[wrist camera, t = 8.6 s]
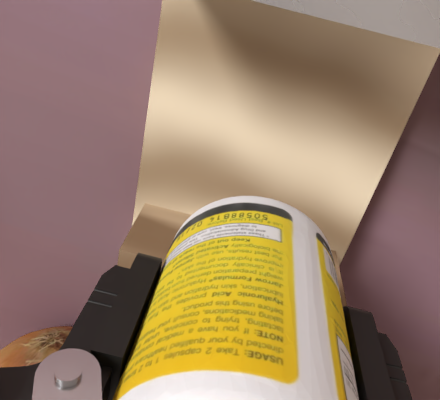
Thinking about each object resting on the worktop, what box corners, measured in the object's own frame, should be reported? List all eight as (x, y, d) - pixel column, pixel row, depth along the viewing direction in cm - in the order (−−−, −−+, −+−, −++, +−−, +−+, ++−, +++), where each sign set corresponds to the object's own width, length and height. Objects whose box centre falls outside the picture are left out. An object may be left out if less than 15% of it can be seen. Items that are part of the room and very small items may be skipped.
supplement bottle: (142, 264, 15) (-44, 670, 6) (238, 156, 12) (146, 587, 4) (259, 341, 16) (238, 773, 7) (369, 257, 13) (523, 759, 5)
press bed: (316, 290, 24) (326, 369, 20) (135, 245, 24) (101, 313, 20) (560, -248, 13) (726, -371, 8) (218, -337, 13) (185, -513, 8)
